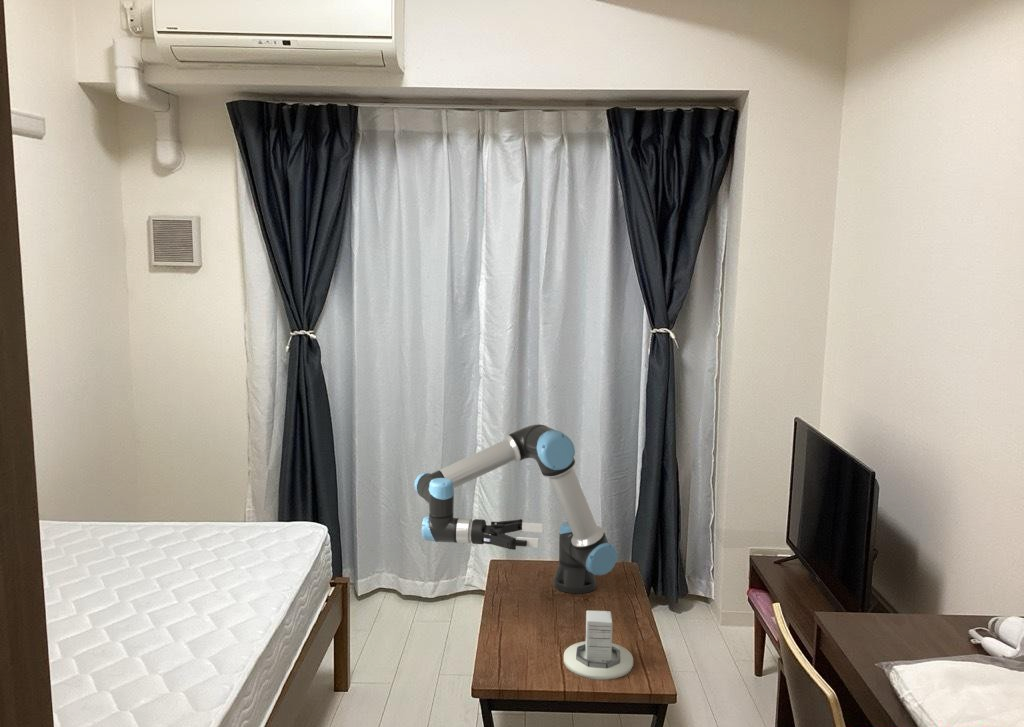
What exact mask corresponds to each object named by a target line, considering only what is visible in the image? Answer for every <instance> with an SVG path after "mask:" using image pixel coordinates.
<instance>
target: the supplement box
mask: <svg viewBox="0 0 1024 727" xmlns="http://www.w3.org/2000/svg"><path fill="white" fill-rule="evenodd" d="M585 613H586V614H585V641H586V648H585V650H586V659H587V660H588V661H591V662H603V663H606V662H609V661H611V660H612V643H613V617H612V612H611V610H610V611H607V610H586V612H585Z"/></svg>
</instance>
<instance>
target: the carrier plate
mask: <svg viewBox="0 0 1024 727" xmlns="http://www.w3.org/2000/svg"><path fill="white" fill-rule="evenodd" d="M584 644H586V640H584V641H579V642H575V643H574V644H571V645H570V646H568V647H567V648H566V649H565V650H564V653H563V664H564V666H565V667H566V669H567V670H569V671H570V672H571V673H572V674H575V675H577V676H579V677H582V678H584V679H585V678H586V679H590V680H596V681H597V680H598V681H599V680H600V681H605V680H606V681H608V680H615V679H619V678H622V677H625V676H626V675H628V674H629V673H630V672H631V671H632V670H633V668H632V667H634V658H633V657H634V656H633V655H632V653H631V652H630V651H629V649H627V648H625V647H623V646H622V645H619V644H616V643H614V642H612V646H613V647H615V648H617V649H619V650H620V663H619V664H617V665H614V666H612V667H610V668H594V667H589V666H588V667H587V666H586V665H584V664H582V663H581V662H579V661H577V660H576V652H577V647H579V646H581V645H584ZM580 656H582V657H583V658H585V659H586V650H584V651H581V652H580ZM616 658H617V655H616V654H615V653H613V652H612V660H614V659H616ZM631 669H632V670H631Z"/></svg>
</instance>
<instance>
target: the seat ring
mask: <svg viewBox="0 0 1024 727" xmlns="http://www.w3.org/2000/svg"><path fill="white" fill-rule="evenodd" d="M585 648H586V644H584V645H581V646H579V647H577V652H576V660H577V661H579V662H581V663H582V664H584V665H586V666H587V667H588V666H589V667H594V668H610V667H612V666H614V665H617V664H619V663H620V650H619V649H617V648H615V647H613V646H612V652H613V653H615V654H616V655H617V658H616V659H614V660H611V661H609V662H606V663H603V662H591V661H588V660H587V659H585V658H583V657H582V656H580V652H581V651H584V650H585Z"/></svg>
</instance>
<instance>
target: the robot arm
mask: <svg viewBox="0 0 1024 727" xmlns="http://www.w3.org/2000/svg"><path fill="white" fill-rule="evenodd" d="M575 450H576V449H575V445H574V443H573V441H572V440H571V438H570V437H569V436H568V435H566V434H565V433H563V432H562V431H559V430H556V429H554V428H551V427H549V426H547V425H546V424H545V425H544V424H540V423H539V424H532V425H528V426H525V427H523V428H520V429H518V430H516V431H514V432H512V433H508V434H507V435H506V436H505V439H504V440H502V441H501V440H500V441H499V442H496V443H494V444H493V445H490V446H489V447H486V448H485V449H482V450H479V451H478V452H475V453H473V454H471V455H469V456H467V457H465V458H463V459H460V460H458V461H456V462H454V463H452V464H449V465H447V466H446V467H445V466H444V467H443V468H441V469H438V470H436V471H434V472H432V473H430V472H423V473H422V472H421V473H420V474H419V475H417V477H416V478H415V480H414V490H415V492H416V493H417V494H418V496H420V497H421V498H423V499H424V500H425V501H426V502H427V504H429V506H428V507H429V508H428V509H429V514H428V516H427V515H426V516H425V517H423V519H422V523H421V536H422V539H424V540H425V541H428V542H435V543H454V544H456V543H457V544H458V543H460V544H461V545H465V544H472V545H484V544H485V545H493V546H496V547H500V548H504V549H508V550H514V551H515V550H516V549H517V548H520V547H521V548H536V549H538V548H539V538H538V537H523V536H516V537H513V536H511V535H508V534H509V533H513V532H517V531H521V532H523V533H524V532H526V533H544V524H543V522H542V523H539V522H523V519H521V518H520V519H513V520H512V519H511V520H502V521H490V525H489V524H487V521H486V520H485V519H480V518H479V519H478V518H475V519H472V518H462V517H461V518H460V517H454V509H455V508H454V506H455V505H454V504H455V502H454V500H455V499H454V497H455V489H456V488H458V487H460V486H462V485H464V484H466V483H468V482H471V481H473V480H475V479H477V478H479V477H482V476H484V475H485V474H489V473H490V472H492V471H494V470H496V469H498V468H500V467H503V466H505V465H507V464H509V463H511V462H514V461H516V462H521V461H522V460H525V459H526V460H527V459H533V460H535V461H536V463H537V465H538V467H539V470H540V471H541V472H540V473H541V474H542V476H543V477H546V478H548V479H549V481H550V483H551V486H552V488H553V491H554V493H555V496H556V497H557V500H558V502H559V503H558V504H560V507H561V510H562V512H563V514H564V516H565V517H564V518H565V519H566V521H567V522H564V523H562V524H560V527H559V531H558V532H559V533H558V536H559V538H558V539H559V540H558V542H559V544H558V551H559V552H558V566H557V568H556V570H555V571H556V572H555V574H554V577H553V587H554V588H555V589H556V590H558V591H561V592H564V593H568V594H575V593H577V594H578V595H579V594H586V593H590V592H592V591H594V590H595V589H596V588H597V578H596V576H603V575H607V574H608V573H610V572H611V571H612V570H613V569H614V567H615V565H616V563H617V561H618V551H617V548H616V547H615V546H614V544H613V543H611V542H609V540H608V538H607V536H606V533H605V531H604V529H603V527H602V526H600V525H597V522H596V520H595V518H594V515H593V513H592V511H591V508H590V506H589V503H588V501H587V498H586V496H585V494H584V491H583V489H582V487H581V484H580V482H579V479H578V477H577V474H576V472H575V470H574V467H575V465H576V460H575V458H574V456H575V453H576V451H575Z"/></svg>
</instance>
